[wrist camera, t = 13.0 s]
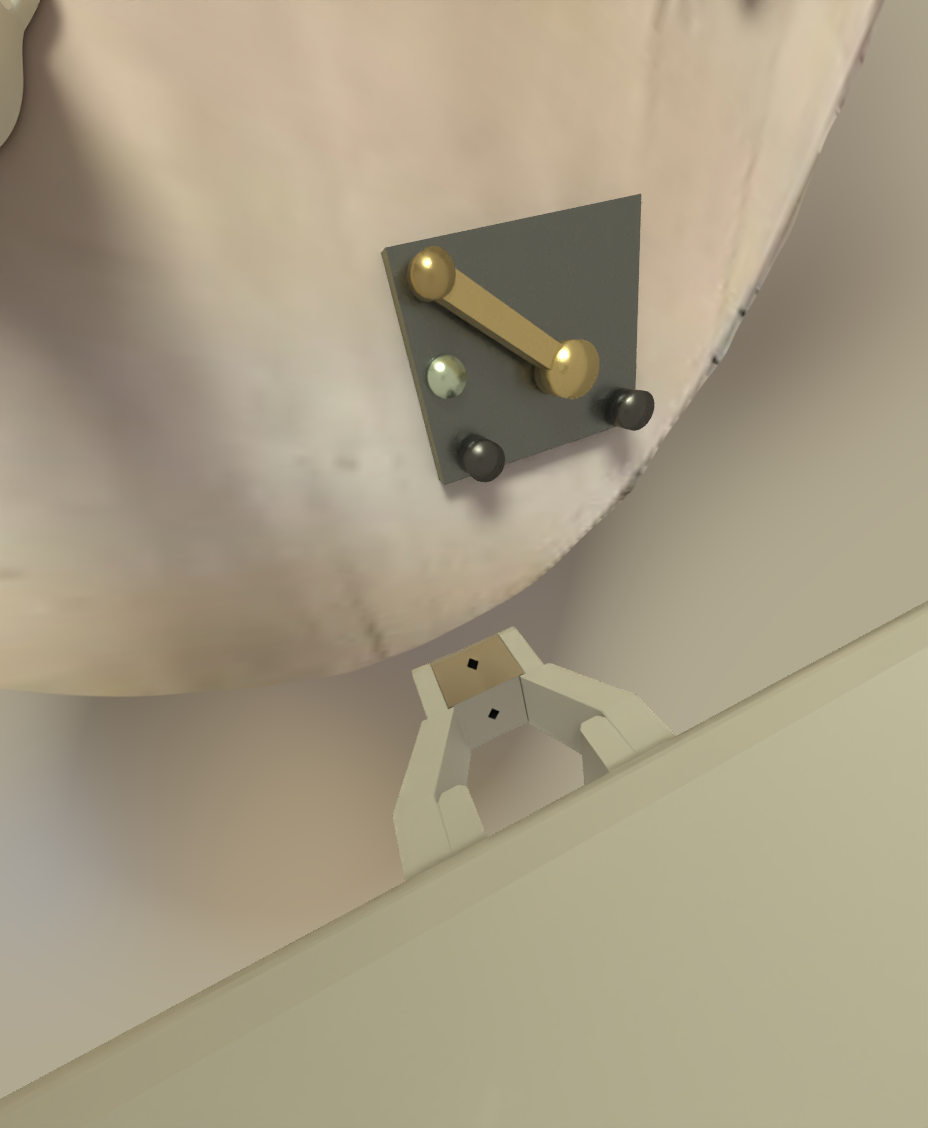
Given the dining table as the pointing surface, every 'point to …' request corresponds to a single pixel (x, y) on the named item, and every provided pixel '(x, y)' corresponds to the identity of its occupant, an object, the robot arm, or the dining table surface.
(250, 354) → the dining table surface
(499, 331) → the lever
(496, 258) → the base
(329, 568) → the dining table surface
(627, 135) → the dining table surface
